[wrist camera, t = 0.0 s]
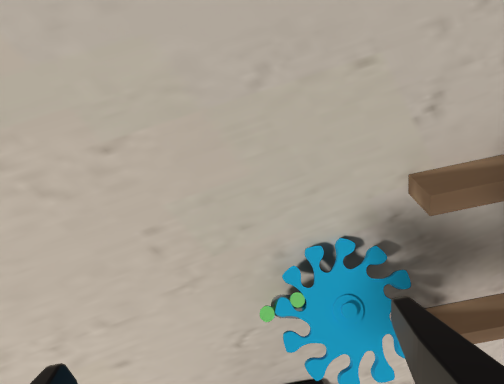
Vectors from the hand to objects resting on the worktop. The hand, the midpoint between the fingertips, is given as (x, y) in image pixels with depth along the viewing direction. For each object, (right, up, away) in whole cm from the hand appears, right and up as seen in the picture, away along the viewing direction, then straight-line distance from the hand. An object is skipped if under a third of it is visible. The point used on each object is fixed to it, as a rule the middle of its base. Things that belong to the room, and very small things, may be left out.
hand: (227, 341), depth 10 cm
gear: (+7, -2, +19) cm, 20 cm away
